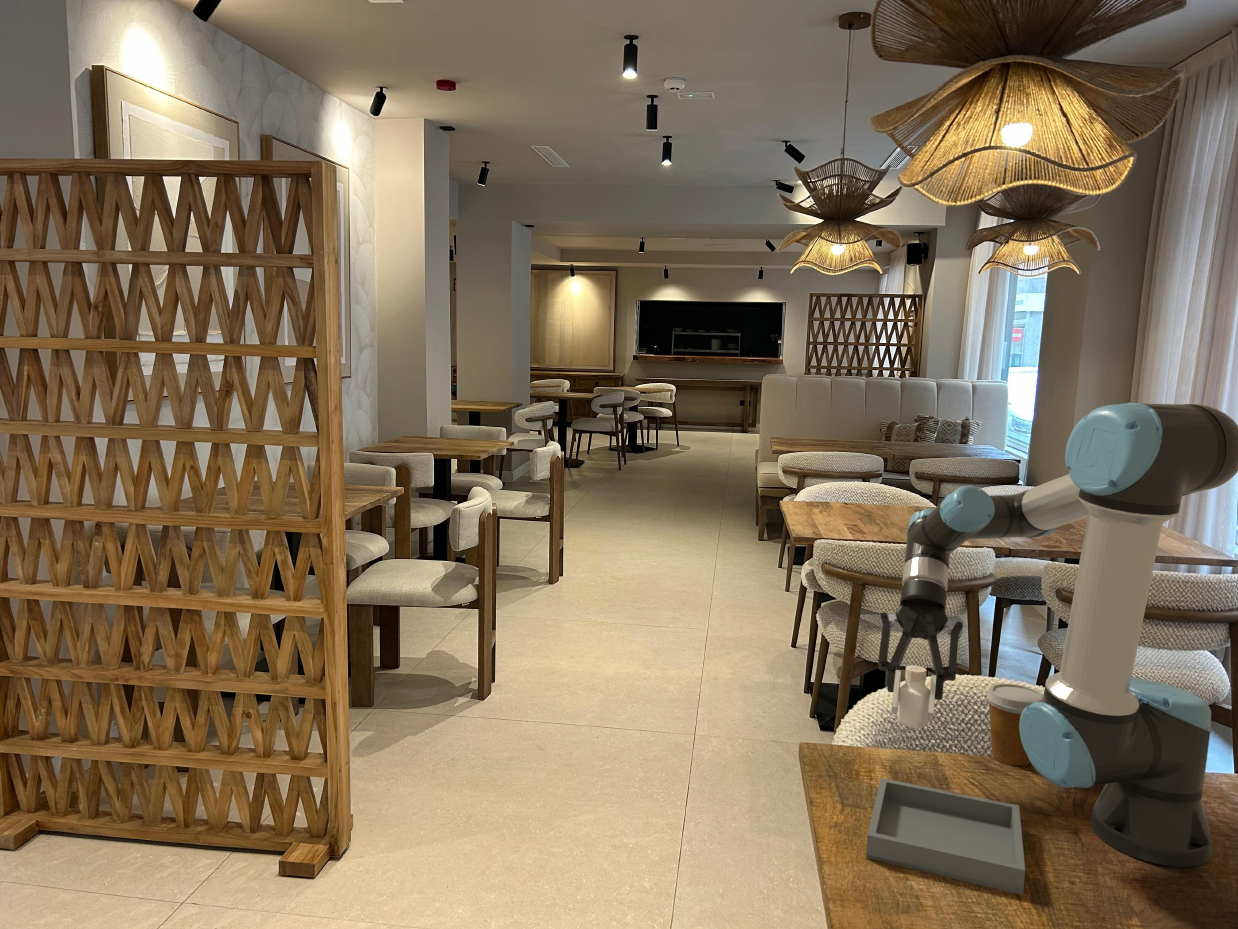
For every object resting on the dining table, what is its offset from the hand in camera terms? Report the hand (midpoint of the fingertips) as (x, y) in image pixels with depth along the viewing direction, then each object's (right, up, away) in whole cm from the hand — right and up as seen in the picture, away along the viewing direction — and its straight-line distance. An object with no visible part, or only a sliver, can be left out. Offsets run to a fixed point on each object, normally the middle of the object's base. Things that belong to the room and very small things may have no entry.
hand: (912, 713), depth 138 cm
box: (0, -15, -13) cm, 20 cm away
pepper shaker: (+1, -3, +4) cm, 5 cm away
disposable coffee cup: (+22, -12, +15) cm, 29 cm away
